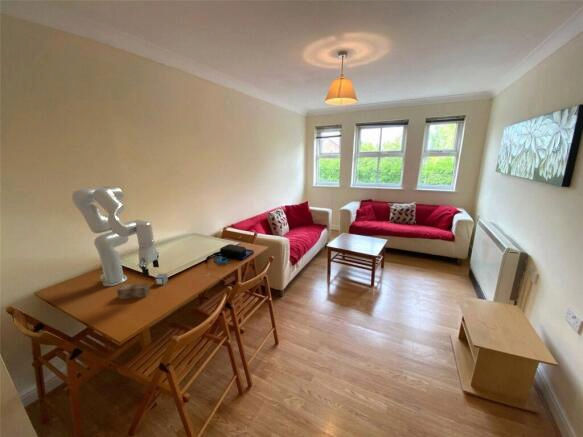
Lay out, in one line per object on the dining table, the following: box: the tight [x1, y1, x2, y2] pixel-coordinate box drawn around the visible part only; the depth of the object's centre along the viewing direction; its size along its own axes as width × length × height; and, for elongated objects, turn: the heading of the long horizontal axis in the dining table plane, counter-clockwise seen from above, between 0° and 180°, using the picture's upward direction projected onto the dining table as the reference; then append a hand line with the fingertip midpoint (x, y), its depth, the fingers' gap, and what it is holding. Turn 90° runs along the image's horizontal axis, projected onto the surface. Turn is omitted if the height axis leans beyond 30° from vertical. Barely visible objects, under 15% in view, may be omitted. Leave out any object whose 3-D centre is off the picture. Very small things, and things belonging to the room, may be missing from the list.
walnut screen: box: [116, 282, 150, 300], centre depth 136 cm, size 14×5×6 cm, turn 99°
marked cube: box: [154, 273, 169, 286], centre depth 149 cm, size 5×5×5 cm
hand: (151, 271), depth 139 cm, fingers open, 9 cm apart
